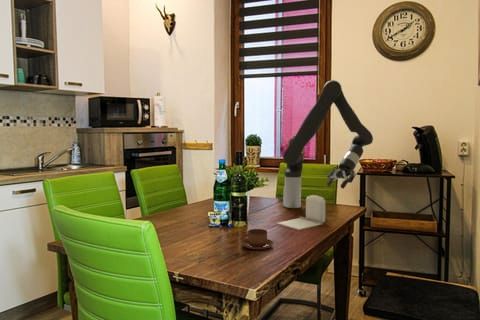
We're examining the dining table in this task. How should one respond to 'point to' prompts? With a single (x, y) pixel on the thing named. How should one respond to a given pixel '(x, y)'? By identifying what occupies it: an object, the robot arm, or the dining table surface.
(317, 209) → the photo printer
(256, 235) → the cup and saucer
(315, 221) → the pad
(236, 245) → the dining table surface
